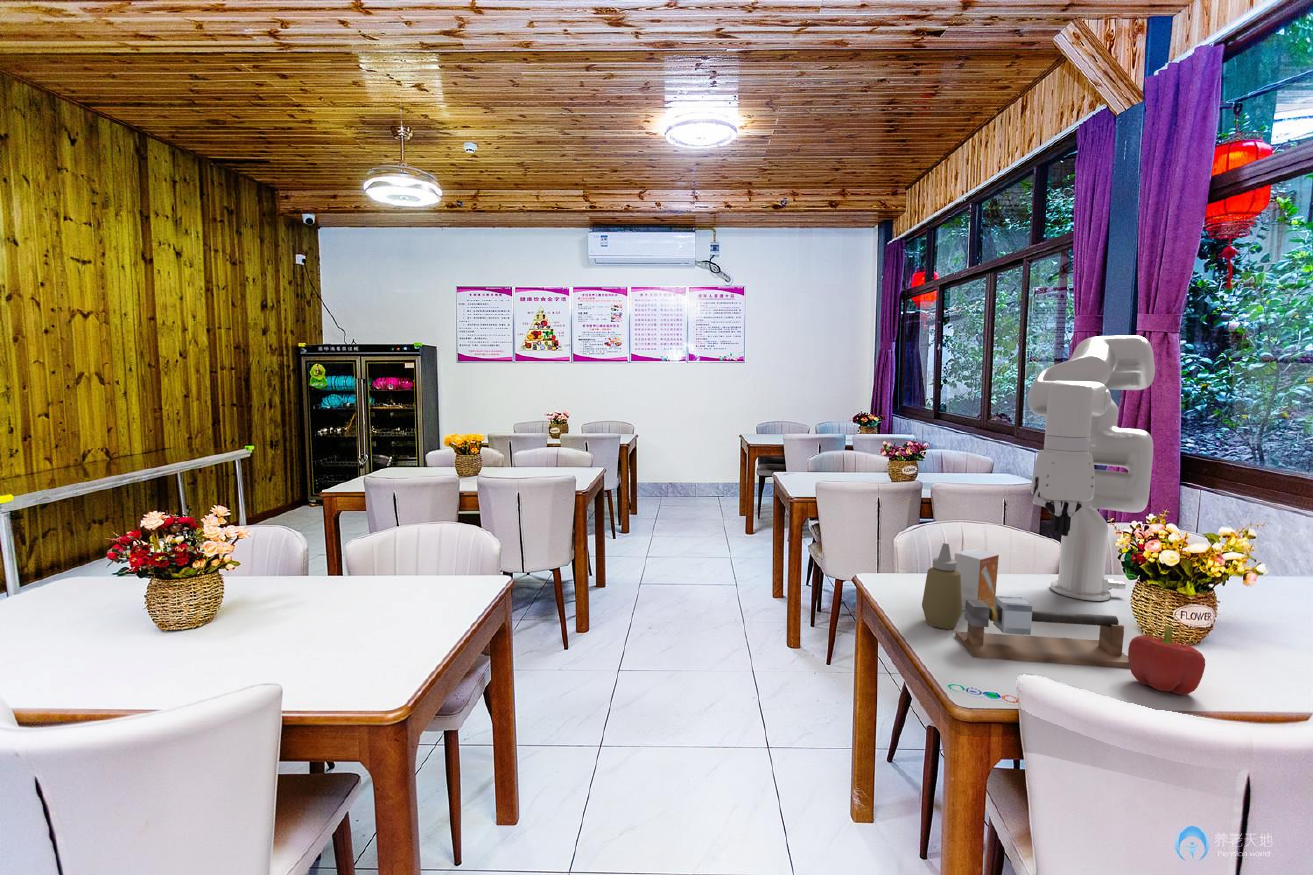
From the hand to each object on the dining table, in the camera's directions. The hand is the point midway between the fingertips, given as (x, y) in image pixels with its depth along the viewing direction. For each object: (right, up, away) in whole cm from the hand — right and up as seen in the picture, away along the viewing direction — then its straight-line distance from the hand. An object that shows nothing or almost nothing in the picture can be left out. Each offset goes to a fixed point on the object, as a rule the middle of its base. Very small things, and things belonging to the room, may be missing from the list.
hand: (1059, 534), depth 126 cm
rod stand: (-6, -23, -3) cm, 24 cm away
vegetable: (+7, -25, -17) cm, 30 cm away
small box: (-7, -21, +20) cm, 30 cm away
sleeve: (-11, -18, -3) cm, 22 cm away
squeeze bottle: (-20, -21, +10) cm, 31 cm away
